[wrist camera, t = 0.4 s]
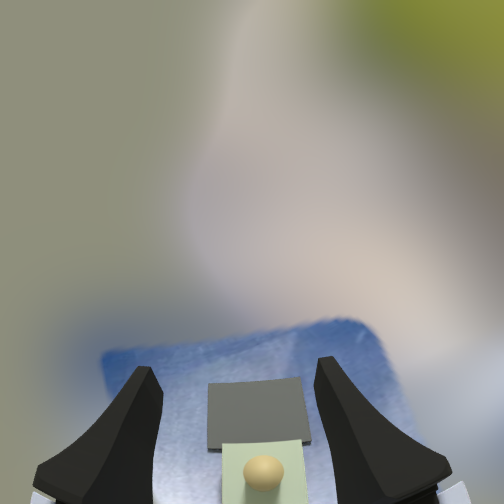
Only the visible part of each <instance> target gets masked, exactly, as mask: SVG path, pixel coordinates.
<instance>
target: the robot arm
mask: <svg viewBox="0 0 504 504" xmlns="http://www.w3.org/2000/svg"><path fill="white" fill-rule="evenodd" d="M314 391H315V397H316V402H317V407H318V410H319V414H320V417H321V420H322V424H323V427H324V430H325V433H326V437H327V440H328V443H329V447H330V451H331V456H332V462H333V468H334V475H335V483H336V491H337V501H338V504H471V501H470V498H469V495H468V492H467V489H466V487H465V484H464V481H460V482H459V483H457V484H455V485H454V486H452V487H450V488H449V489H447V490H445V491H443V492H441V493H439V494H436V491H437V490H438V486H437V483H439V482H440V481H442V480H444V479H445V478H447V477H448V476H450V475H451V474H452V469H451V467H450V464H449V462H448V461H447V459H446V457H445V456H443V455H441V454H439V453H436V452H434V451H433V450H431V449H429V448H427V447H425V446H423V445H422V444H420V443H418V442H417V441H415V440H414V439H412V438H411V437H409V436H408V435H406V434H405V433H403V432H402V431H401V430H399V429H398V428H397V427H395V426H394V425H393V424H392V423H390V422H389V421H388V420H387V419H386V418H385V417H384V416H383V415H382V414H380V413H379V412H378V411H377V410H376V409H375V408H374V407H373V406H372V405H371V403H370V402H369V401H368V400H367V399H366V398H365V397H364V396H363V395H362V394H361V392H360V391H359V390H358V389H357V388H356V386H355V385H354V384H353V383H352V382H351V380H350V379H349V378H348V376H347V375H346V374H345V372H344V371H343V370H342V368H341V367H340V365H339V364H338V363H337V361H336V360H335V358H334V357H333V356H329V357H323V358H318V363H317V369H316V375H315V380H314ZM162 407H163V391H162V389H161V387H160V385H159V383H158V381H157V379H156V377H155V375H154V373H153V371H152V369H151V367H147V366H138V367H137V368H136V369H135V371H134V372H133V374H132V375H131V376H130V378H129V379H128V381H127V382H126V384H125V385H124V386H123V388H122V389H121V391H120V392H119V393H118V395H117V396H116V397H115V399H114V400H113V401H112V403H111V404H110V405H109V406H108V408H107V409H106V410H105V411H104V413H103V414H102V415H101V416H100V417H99V418H98V420H97V421H96V422H95V423H94V424H93V425H92V426H91V427H90V428H89V429H88V430H87V431H86V432H85V433H84V434H83V435H82V436H81V437H80V438H78V439H77V440H76V441H75V442H74V443H73V444H71V445H70V446H69V447H67V448H66V449H64V450H63V451H62V452H60V453H59V454H57V455H56V456H54V457H52V458H51V459H49V460H47V461H45V462H43V463H42V464H40V465H38V468H37V471H36V474H35V478H34V481H33V487H35V488H36V489H38V490H40V491H42V492H44V493H45V494H47V495H49V496H51V497H53V498H55V499H56V502H53V501H51V500H49V499H47V498H45V497H43V496H41V495H39V494H38V493H36V492H33V494H32V498H31V503H30V504H153V493H152V473H153V457H154V450H155V445H156V440H157V435H158V430H159V425H160V420H161V415H162Z"/></svg>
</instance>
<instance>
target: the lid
mask: <svg viewBox="0 0 504 504" xmlns="http://www.w3.org/2000/svg"><path fill="white" fill-rule="evenodd" d="M222 504H308V494H307V485H306V475H305V466H304V458H303V449H302V441H301V439H299V440H290V441H279V442H266V443H238V444H224V443H222Z"/></svg>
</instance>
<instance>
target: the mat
mask: <svg viewBox="0 0 504 504" xmlns="http://www.w3.org/2000/svg"><path fill="white" fill-rule="evenodd" d="M299 439H301V441H302V443H304V442H310V441H312V439H311V433H310V428H309V422H308V416H307V411H306V405H305V400H304V395H303V389H302V384H301V379H300V377H294V378H286V379H277V380H266V381H254V382H238V383H209V384H208V449H222V443H224V444H238V443H266V442H279V441H290V440H299Z"/></svg>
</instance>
